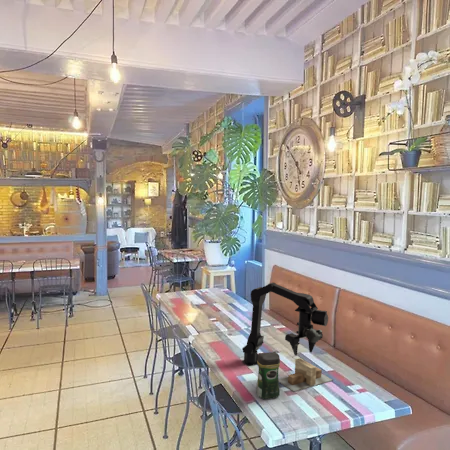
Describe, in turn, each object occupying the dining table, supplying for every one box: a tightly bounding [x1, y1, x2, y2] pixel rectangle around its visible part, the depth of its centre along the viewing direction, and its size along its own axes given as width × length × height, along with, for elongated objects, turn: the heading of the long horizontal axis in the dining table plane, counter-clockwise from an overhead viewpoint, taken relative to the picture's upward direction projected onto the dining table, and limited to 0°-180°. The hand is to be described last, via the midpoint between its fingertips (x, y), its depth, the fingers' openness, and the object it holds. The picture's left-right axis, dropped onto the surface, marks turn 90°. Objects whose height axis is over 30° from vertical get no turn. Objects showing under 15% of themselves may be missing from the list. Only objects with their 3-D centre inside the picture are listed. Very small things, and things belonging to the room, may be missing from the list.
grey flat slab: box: [278, 367, 334, 393], centre depth 175 cm, size 24×12×4 cm, turn 120°
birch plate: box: [294, 357, 317, 386], centre depth 175 cm, size 3×11×8 cm, turn 30°
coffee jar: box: [255, 351, 281, 400], centre depth 160 cm, size 10×8×19 cm
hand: (303, 353), depth 177 cm, fingers open, 9 cm apart
